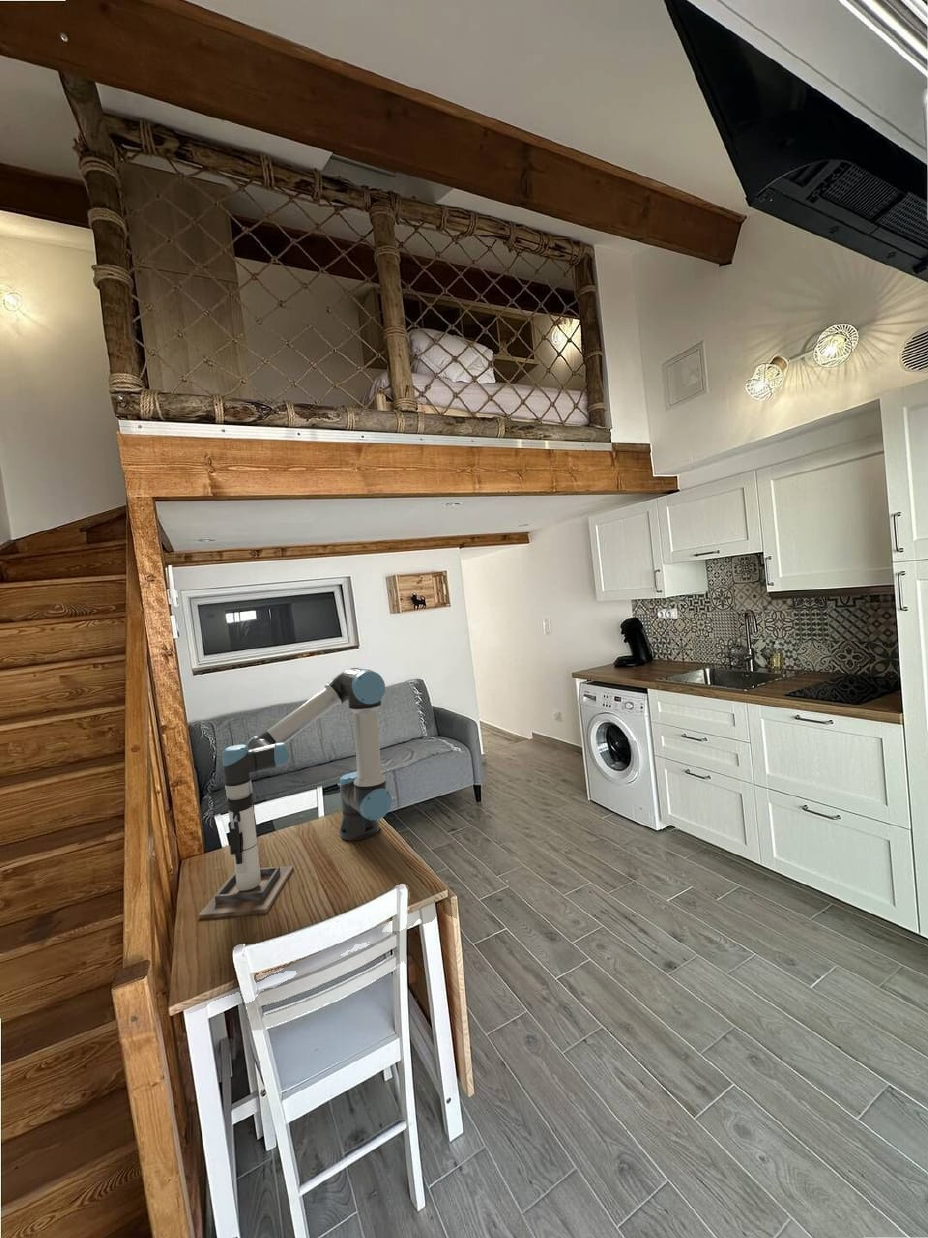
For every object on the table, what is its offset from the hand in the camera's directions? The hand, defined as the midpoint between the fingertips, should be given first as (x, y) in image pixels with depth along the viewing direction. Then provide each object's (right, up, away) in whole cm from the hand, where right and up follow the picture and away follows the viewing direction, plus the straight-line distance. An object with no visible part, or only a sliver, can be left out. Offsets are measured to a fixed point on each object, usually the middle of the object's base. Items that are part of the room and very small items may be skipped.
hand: (247, 865), depth 160 cm
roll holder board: (+1, -9, 0) cm, 9 cm away
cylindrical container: (0, -6, 0) cm, 6 cm away
